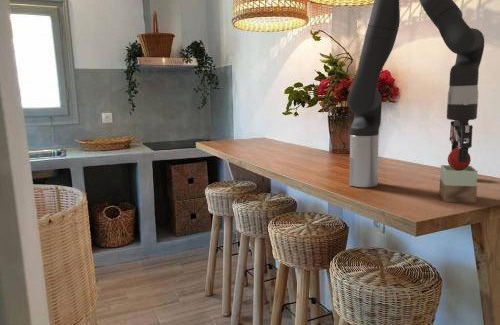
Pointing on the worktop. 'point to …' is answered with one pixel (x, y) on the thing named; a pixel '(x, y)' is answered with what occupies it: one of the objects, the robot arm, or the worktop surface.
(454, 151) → the onion
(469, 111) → the robot arm
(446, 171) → the top block
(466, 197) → the bottom block
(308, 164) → the worktop surface
